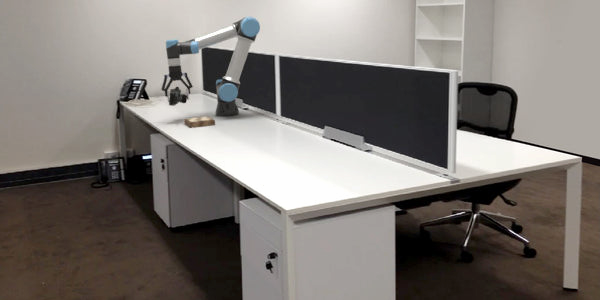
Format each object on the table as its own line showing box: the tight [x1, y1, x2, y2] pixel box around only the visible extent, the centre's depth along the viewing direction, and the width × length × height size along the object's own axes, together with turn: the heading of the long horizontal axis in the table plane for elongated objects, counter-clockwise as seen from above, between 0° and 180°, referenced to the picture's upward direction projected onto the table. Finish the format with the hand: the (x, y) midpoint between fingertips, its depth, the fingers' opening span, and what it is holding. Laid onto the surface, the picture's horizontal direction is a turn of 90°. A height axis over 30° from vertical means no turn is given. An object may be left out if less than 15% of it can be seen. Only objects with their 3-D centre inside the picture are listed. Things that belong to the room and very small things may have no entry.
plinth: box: [183, 116, 216, 129], centre depth 358 cm, size 15×15×3 cm
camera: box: [168, 86, 188, 106], centre depth 370 cm, size 18×9×10 cm, turn 2°
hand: (178, 100), depth 369 cm, fingers closed on camera, 11 cm apart
